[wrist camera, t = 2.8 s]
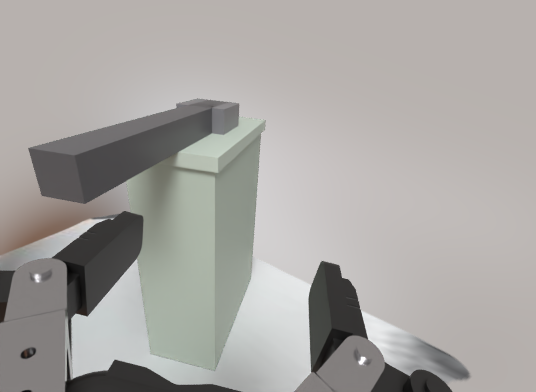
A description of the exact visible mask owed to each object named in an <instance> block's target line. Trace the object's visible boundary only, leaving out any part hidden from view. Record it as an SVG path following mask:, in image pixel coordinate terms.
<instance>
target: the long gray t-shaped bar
mask: <svg viewBox="0 0 536 392" xmlns="http://www.w3.org/2000/svg"><path fill="white" fill-rule="evenodd" d="M176 106H177V108H176V109H172V110H168V111H165V112H161V113H157V114H153V115H150V116H146V117H143V118H139V119H135V120H131V121H127V122H124V123H120V124H116V125H113V126H109V127H105V128H102V129H98V130H94V131H90V132H87V133H83V134H79V135H75V136H72V137H68V138H64V139H61V140H57V141H53V142H49V143H46V144H42V145H38V146H34V147H31V148H29V152H30V156H31V159H32V163H33V166H34V170H35V173H36V177H37V180H38V184H39V187H40V191H41V194H42V196H46V197H51V198H56V199H62V200H67V201H73V202H78V203H83V204H85V203H87V202H89V201H91V200H93V199H95V198H96V197H98V196H100V195H102V194H103V193H105V192H107V191H109V190H111V189H113V188H114V187H116V186H118V185H120V184H122V183H123V182H125V181H127V180H129V179H131V178H132V177H134V176H136V175H138V174H140V173H141V172H143V171H145V170H147V169H149V168H151V167H152V166H154V165H156V164H158V163H160V162H161V161H163V160H165V159H167V158H169V157H170V156H172V155H174V154H176V153H178V152H179V151H181V150H183V149H185V148H187V147H188V146H190V145H192V144H194V143H196V142H197V141H199V140H201V139H203V138H205V137H206V136H208V135H210V134H212V133H213V134H220V135H225V134H226V133H228V132H229V131H231V130H232V129H234V128H236V127H237V126H238V123H239V104H238V103H231V102H220V101H213V100H204V99H194V100H190V101H186V102H182V103H178V104H176Z"/></svg>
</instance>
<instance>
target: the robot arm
mask: <svg viewBox="0 0 536 392" xmlns="http://www.w3.org/2000/svg"><path fill="white" fill-rule="evenodd" d="M143 222H144V219H143V216H142V215H138V214H134V213H130V212H126V211H124V212H122V213H121V214H119V215H118V216H117V217H116V218H115V219H113V220H111V219H107V220H105V221H102V222H99V223H97V224H95V225H94V226H93V227H91V228H90V229H89V230H87V232H85V233H83V234H82V235H81V236H80V237H79V238H77V239H76V240H74V241H73V242H72V243H70V244H69V245H68V246H67V247H65V248H64V249H63V250H61V251H60V252H59V253H57V254H56V255H55V256H54V257H52V258H46V259H38V260H34V261H31V262H29V263H26V264H24V265H23V266H21V267H20V268H18V269H17V270H16V271H0V392H241V391H237V390H233V389H229V388H225V387H221V386H217V385H213V384H203V385H176V384H173V383H171V382H170V381H168V380H166V379H165V378H163V377H161V376H160V375H158V374H156V373H155V372H153V371H151V370H150V369H148V368H146V367H142V366H138V365H134V364H130V363H126V362H122V361H118V360H114V362H113V363H112V365H111V367H110V368H109V370H108V371H98V372H92V373H88V374H84V375H82V376H79V377H76V378H74V379H73V368H72V321H71V318H72V317H73V316H74V315H75V313H76V314H80V315H84V316H88V315H89V314H90V313H91V312H92V310H93V309H94V308H95V307H96V306H97V305H98V303H99V302H100V301H101V300H102V299H103V297H104V296H105V295H106V294H107V293H108V292H109V290H110V289H111V288H112V287H113V286H114V285H115V283H116V282H117V281H118V280H119V279H120V277H121V276H122V275H123V274H124V273H125V272H126V270H127V269H128V268H129V267H130V266H131V265H132V263H133V262H134V261H135V260H136V259H137V257H138V256H139V254H140V251H141V248H142V241H143ZM309 327H310V354H311V372H312V373H311V374H310V375H309V376H308V377H307V378H306V379H305V380H304V381H303V382H302V384H301V385H300V386H299V387H298V388H297V389H296V390H295V391H294V392H452V391H451V389H450V388H449V387H448V386H447V384H446V383H445V382H444V381H442V380H441V379H440V378H439V377H438V376H436V375H434V374H433V373H431V372H428V371H426V370H416V371H414V372H413V373H412V374H411V375H410V376H408V375H407V374H405V373H403V372H401V371H399V370H397V369H396V368H394V367H392V366H390V365H389V364H387V363H386V362H385V361H384V358H383V355H382V353H381V352H380V350H379V349H378V348H377V347H376V346H375V345H374V344H373V343H372V342H371V341H369V340H368V337H367V333H366V329H365V325H364V321H363V317H362V313H361V310H360V306H359V302H358V297H357V294H356V289H355V288H354V287H353V285H352V284H351V282H350V281H349V280H348V279H344V278H342V276H341V271H340V266H339V265H336V264H332V263H328V262H324V261H322V262H321V263H320V265H319V268H318V270H317V273H316V276H315V278H314V281H313V283H312V286H311V289H310V293H309Z"/></svg>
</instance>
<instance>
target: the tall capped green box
mask: <svg viewBox="0 0 536 392" xmlns="http://www.w3.org/2000/svg"><path fill="white" fill-rule="evenodd" d="M265 122H266V121H265V120H261V119H252V118H244V117H239V123H238V126H237V127H236V128H234V129H232V130H231V131H229V132H228V133H226V134H225V135H220V134H213V133H212V134H210V135H208V136H206V137H205V138H203V139H201V140H199V141H197V142H196V143H194V144H192V145H190V146H188V147H187V148H185V149H183V150H181V151H179V152H178V153H176V154H174V155H172V156H170V157H169V158H167V159H165V160H163V161H161V162H160V163H158V164H156V165H154V166H152V167H151V168H149V169H147V170H145V171H143V172H141V173H140V174H138V175H136V176H134V177H132V178H131V179H129V180H127V181H126V183H127V190H128V197H129V204H130V211H131V213H134V214H138V215H142V216H143V219H144V222H143V241H142V248H141V251H140V254H139V256H138V257H137V261H138V268H139V275H140V282H141V289H142V296H143V303H144V310H145V317H146V324H147V331H148V338H149V345H150V352H151V354H153V355H157V356H161V357H164V358H168V359H172V360H176V361H179V362H183V363H187V364H191V365H195V366H198V367H202V368H206V369H210V370H213V371H215V369H216V366H217V364H218V361H219V359H220V356H221V353H222V351H223V348H224V346H225V343H226V341H227V338H228V335H229V333H230V330H231V328H232V325H233V323H234V320H235V318H236V315H237V312H238V310H239V307H240V305H241V302H242V300H243V297H244V294H245V292H246V289H247V287H248V284H249V282H250V279H251V268H252V254H253V239H254V225H255V211H256V197H257V183H258V168H259V154H260V153H259V152H260V139H261V133H262V132H263V131H264V130H265Z"/></svg>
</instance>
